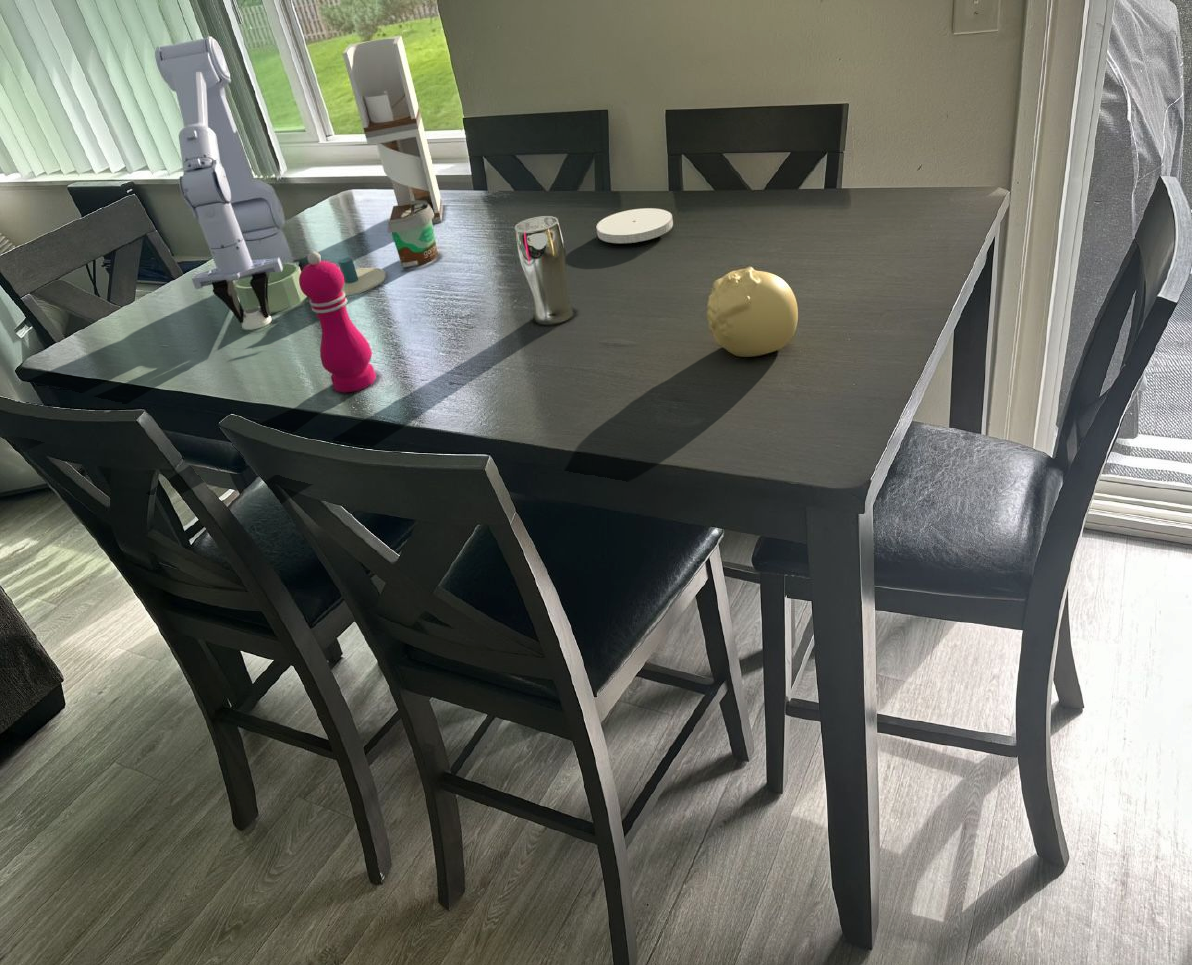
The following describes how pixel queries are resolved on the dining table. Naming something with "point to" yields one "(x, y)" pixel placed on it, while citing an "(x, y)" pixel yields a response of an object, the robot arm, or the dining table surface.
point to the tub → (274, 289)
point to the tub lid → (359, 277)
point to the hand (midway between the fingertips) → (254, 318)
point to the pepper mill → (336, 327)
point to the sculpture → (752, 312)
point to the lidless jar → (254, 318)
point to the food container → (414, 234)
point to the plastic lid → (634, 225)
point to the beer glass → (544, 267)
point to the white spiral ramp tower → (393, 120)
